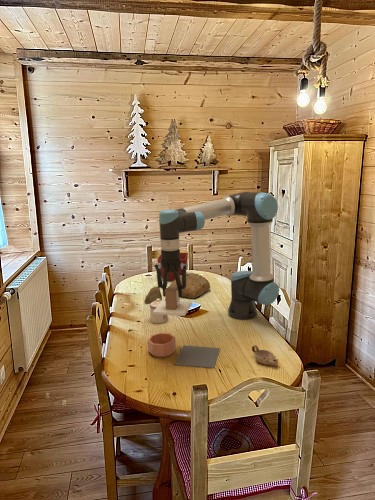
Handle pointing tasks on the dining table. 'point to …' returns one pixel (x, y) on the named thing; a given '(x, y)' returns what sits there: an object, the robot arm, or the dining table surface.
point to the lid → (172, 304)
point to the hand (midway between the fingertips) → (172, 303)
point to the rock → (153, 295)
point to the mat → (197, 356)
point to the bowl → (161, 344)
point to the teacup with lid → (157, 317)
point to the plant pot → (184, 260)
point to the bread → (194, 285)
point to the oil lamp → (264, 356)
